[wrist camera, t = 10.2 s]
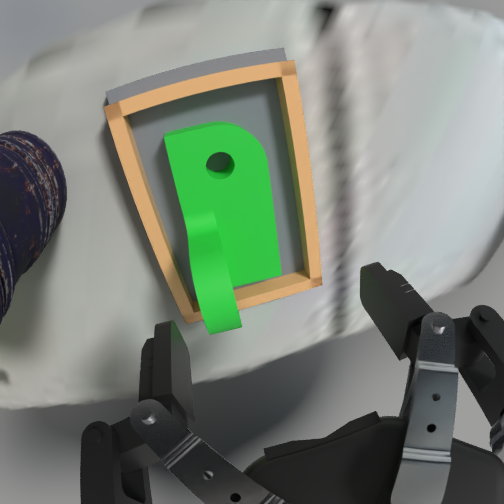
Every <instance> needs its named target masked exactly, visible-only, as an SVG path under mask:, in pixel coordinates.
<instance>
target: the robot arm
mask: <svg viewBox="0 0 504 504" xmlns="http://www.w3.org/2000/svg"><path fill="white" fill-rule="evenodd" d="M360 299H361V302H362V305H363V307H364V308H365V310H366V311H367V313H368V314H369V316H370V317H371V319H372V320H373V321H374V323H375V324H376V326H377V327H378V329H379V330H380V332H381V333H382V335H383V336H384V338H385V339H386V341H387V342H388V344H389V345H390V347H391V348H392V350H393V352H394V353H395V355H396V356H397V358H398V359H399V360H402V359H404V358H406V357H408V358H409V359H410V361H411V362H410V366H409V372H408V378H407V384H406V389H405V394H404V399H403V403H402V407H401V410H400V413H399V417H396V416H383V417H379V416H378V414H377V412H376V411H374V412H372V413H370V414H367V415H365V416H362V417H360V418H357V419H355V420H353V421H350V422H348V423H347V424H345V425H344V426H342V427H341V428H339V429H338V430H336V431H335V432H333V433H331V434H330V435H328V436H327V437H325V438H321V439H310V440H298V441H290V442H287V443H283V444H279V445H276V446H272V447H268V448H264V453H265V455H264V456H262V457H260V458H259V459H257V460H256V461H255V462H253V463H252V464H251V465H250V466H248V467H247V468H246V470H245V471H244V472H241V471H240V470H238V469H237V468H236V467H235V466H233V465H232V464H231V463H229V462H228V461H227V460H226V459H224V458H223V457H222V456H221V455H219V454H218V453H217V452H216V451H214V450H213V449H212V448H211V447H210V446H208V445H207V444H206V443H205V442H203V440H201V439H200V438H199V437H198V436H196V435H194V434H192V432H190V431H189V430H188V426H187V425H188V424H194V423H195V414H194V404H193V393H192V381H191V369H190V357H189V352H188V348H187V346H186V343H185V341H184V340H183V338H182V336H181V334H180V332H179V330H178V328H177V326H176V324H175V322H174V321H173V320H171V321H167V322H163V323H159V324H156V325H155V332H154V338H150V339H147V340H146V342H145V344H144V346H143V348H142V354H141V361H142V362H141V370H140V385H139V402H138V403H137V404H136V405H135V406H134V407H133V408H132V410H131V412H130V416H129V417H128V418H126V419H124V420H122V421H120V422H118V423H116V424H113V425H111V426H109V425H108V424H106V423H105V422H102V421H96V422H93V423H91V424H89V425H88V426H87V427H86V428H85V430H84V431H83V434H82V439H81V467H80V471H81V472H80V478H81V479H80V488H81V489H80V490H81V504H152V497H151V490H150V482H149V474H148V466H149V465H151V464H153V463H156V462H158V461H160V460H162V461H163V462H164V465H165V466H166V467H167V468H168V469H169V470H170V472H171V473H172V474H173V475H175V477H176V478H177V479H178V480H180V481H181V482H182V483H183V484H184V485H185V486H186V487H187V488H188V489H189V490H190V491H191V492H192V493H193V494H194V495H195V496H197V497H198V498H199V499H200V500H201V501H202V502H203V503H204V504H504V320H503V319H502V318H501V317H500V316H499V314H498V313H497V312H496V311H495V310H494V309H493V308H491V307H489V306H485V305H479V306H476V307H474V308H473V309H472V311H471V313H470V316H469V317H463V318H456V319H452V318H451V317H449V316H448V315H447V314H445V313H442V312H434V311H433V310H432V309H431V308H430V306H429V305H428V304H427V303H426V302H425V301H424V299H423V298H422V297H421V296H420V295H419V294H418V293H417V292H416V290H414V288H413V287H412V286H411V285H410V284H408V282H407V281H406V279H405V278H404V277H403V276H402V275H401V274H399V273H397V272H395V271H393V270H389V271H387V270H386V269H385V268H384V267H383V266H382V265H381V264H380V263H379V262H375V263H372V264H369V265H366V266H363V267H361V271H360ZM486 355H487V356H488V357H487V356H486ZM489 359H490V360H489ZM491 362H492V363H491ZM493 365H494V366H493ZM458 371H459V372H460V374H461V375H462V377H463V378H464V380H465V382H466V383H467V385H468V387H469V388H470V390H471V392H472V393H473V395H474V397H475V398H476V400H477V402H478V403H479V405H480V407H481V409H482V410H483V412H484V414H485V416H486V418H487V419H488V421H489V423H490V425H491V427H492V428H491V430H490V447H491V448H492V452H491V451H487V450H485V449H482V448H479V447H477V446H474V445H471V444H468V443H465V442H463V441H460V440H458V439H455V438H453V436H452V435H453V430H454V422H455V412H456V403H457V391H458V390H457V389H458Z"/></svg>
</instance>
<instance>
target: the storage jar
mask: <svg viewBox="0 0 504 504" xmlns="http://www.w3.org/2000/svg"><path fill="white" fill-rule="evenodd" d="M66 201H67V187H66V179H65V175H64V171H63V169H62V166H61V164H60V161H59V160H58V158H57V156H56V154H55V153H54V151H53V150H52V149H51V148H50V146H49V145H48V144H47V143H45V142H44V141H43V140H42V139H40V138H39V137H37V136H36V135H34V134H31V133H29V132H25V131H9V132H5V133H3V134H0V324H1V322H2V318H3V317H4V316H5V315H6V313H7V311H8V309H9V307H10V303H11V300H12V297H13V293H14V289H15V285H16V283H17V281H18V280H19V278H20V277H21V275H22V274H23V273H25V272H26V271H27V270H28V269H29V268H30V267H31V266H32V265H33V263H34V262H35V261H36V260H37V259H38V257H39V256H40V254H41V252H42V251H43V249H44V248H45V246H46V245H47V243H48V242H49V240H50V238H51V236H52V233H53V232H54V230H55V229H56V228H57V226H58V225H59V223H60V221H61V219H62V217H63V214H64V211H65V207H66Z"/></svg>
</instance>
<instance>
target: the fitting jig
mask: <svg viewBox="0 0 504 504" xmlns="http://www.w3.org/2000/svg"><path fill="white" fill-rule="evenodd" d="M106 95H107V99H108V102H109V105H108V106H106V107H104V109H105V113H106V116H107V120H108V123H109V126H110V130H111V133H112V136H113V139H114V142H115V146H116V149H117V152H118V155H119V158H120V161H121V164H122V167H123V170H124V173H125V176H126V179H127V181H128V184H129V187H130V190H131V193H132V195H133V198H134V201H135V204H136V206H137V209H138V212H139V214H140V217H141V220H142V222H143V225H144V227H145V230H146V232H147V235H148V238H149V240H150V243H151V245H152V247H153V250H154V252H155V255H156V257H157V260H158V262H159V264H160V267H161V269H162V271H163V274H164V276H165V278H166V281H167V283H168V285H169V288H170V290H171V292H172V294H173V297H174V299H175V301H176V303H177V305H178V308H179V310H180V312H181V314H182V316H183V318H184V320H185V323H186V324H189V323H193V322H197V321H200V320H204V319H203V316H202V313H201V310H200V306H199V303H198V299H197V295H196V291H195V286H194V282H193V277H192V272H191V266H190V258H189V245H188V234H187V229H186V224H185V220H184V216H183V212H182V209H181V205H180V201H179V197H178V193H177V190H176V186H175V182H174V178H173V174H172V170H171V166H170V162H169V158H168V153H167V149H166V145H165V141H164V135H165V133H166V132H170V131H174V130H178V129H182V128H187V127H191V126H195V125H200V124H204V123H209V122H216V121H223V122H229V123H233V124H236V125H238V126H240V127H242V128H243V129H245V130H246V131H247V132H249V133H250V134H251V135H253V136H254V137H255V138H256V139H257V140H258V141H259V143H260V144H261V145H262V147H263V149H264V151H265V154H266V157H267V161H268V168H269V176H270V183H271V191H272V199H273V206H274V214H275V222H276V231H277V239H278V247H279V256H280V264H281V273H282V275H280V276H276V277H272V278H268V279H265V280H261V281H257V282H253V283H248V284H244V285H240V286H236V287H233V291H234V295H235V299H236V303H237V308H238V310H241V309H244V308H248V307H251V306H255V305H258V304H261V303H265V302H268V301H272V300H275V299H278V298H282V297H285V296H288V295H292V294H295V293H298V292H301V291H305V290H308V289H311V288H314V287H317V286H321V285H322V274H321V261H320V248H319V237H318V226H317V216H316V206H315V197H314V188H313V180H312V172H311V164H310V156H309V149H308V141H307V134H306V128H305V121H304V115H303V108H302V102H301V96H300V90H299V84H298V79H297V73H296V68H295V62H294V60H290V61H287V60H286V55H285V50H284V48H278V49H270V50H263V51H256V52H250V53H244V54H238V55H233V56H228V57H223V58H218V59H213V60H209V61H204V62H200V63H196V64H192V65H188V66H184V67H180V68H176V69H173V70H169V71H166V72H162V73H159V74H156V75H152V76H149V77H146V78H143V79H140V80H137V81H134V82H131V83H128V84H125V85H123V86H120V87H117V88H114V89H112V90H109V91H107V92H106ZM229 162H230V155H229V154H227V153H225V152H217V153H214V154H212V155H211V156H210V157H209V158H208V160H207V162H206V167H207V168H209V169H210V170H212V171H220V170H223V169H225V168H226V167H227V166H228V164H229Z"/></svg>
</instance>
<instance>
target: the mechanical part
mask: <svg viewBox="0 0 504 504" xmlns="http://www.w3.org/2000/svg"><path fill="white" fill-rule="evenodd" d="M164 141H165V145H166V149H167V153H168V158H169V162H170V166H171V170H172V174H173V178H174V182H175V186H176V190H177V193H178V197H179V201H180V205H181V209H182V212H183V216H184V220H185V224H186V229H187V234H188V245H189V258H190V266H191V272H192V277H193V282H194V286H195V291H196V295H197V299H198V303H199V306H200V310H201V313H202V316H203V319H204V322H205V325H206V328H207V330H208V332H209V334H210V335H211V334H216V333H220V332H224V331H228V330H232V329H237V328H241V327H242V324H241V320H240V316H239V312H238V308H237V303H236V299H235V295H234V291H233V287H236V286H240V285H244V284H248V283H253V282H257V281H261V280H265V279H268V278H272V277H276V276H280V275H282V273H281V264H280V256H279V247H278V239H277V231H276V222H275V214H274V206H273V199H272V191H271V183H270V176H269V168H268V161H267V157H266V154H265V151H264V149H263V147H262V145H261V144H260V143H259V141H258V140H257V139H256V138H255V137H254V136H253V135H251V134H250V133H249V132H247V131H246V130H245V129H243V128H242V127H240V126H238V125H236V124H233V123H229V122H223V121H216V122H209V123H204V124H200V125H195V126H191V127H187V128H182V129H178V130H174V131H170V132H166V133H165V135H164ZM217 152H225V153H227V154H229V155H230V162H229V164H228V166H227V167H226V168H225V169H223V170H220V171H212V170H210V169H209V168H207V167H206V162H207V160H208V158H209V157H210V156H211V155H212V154H214V153H217Z"/></svg>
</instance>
